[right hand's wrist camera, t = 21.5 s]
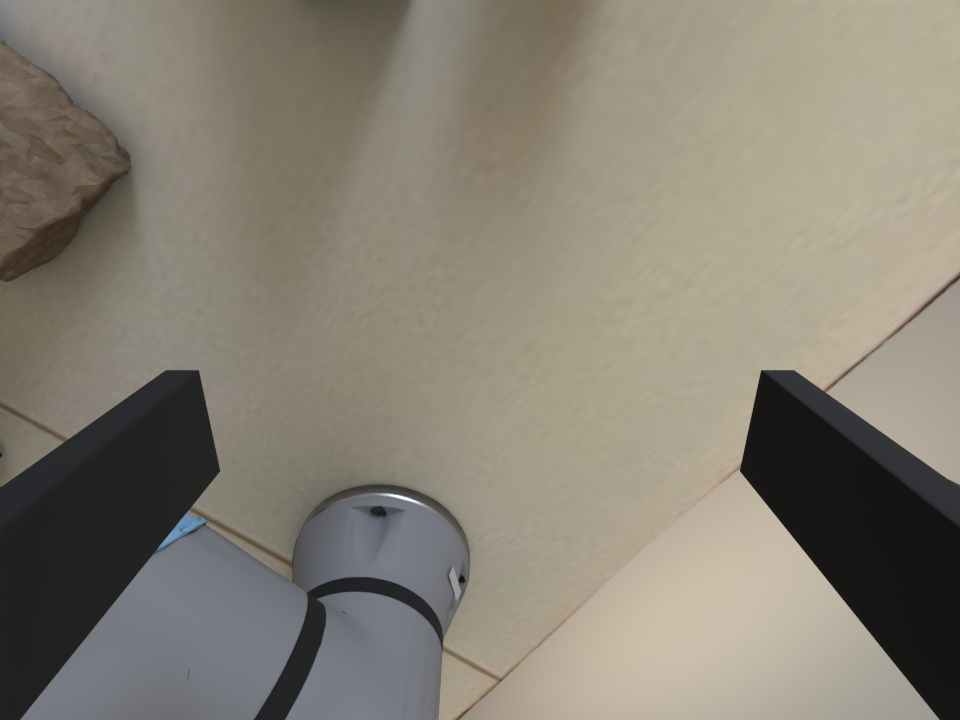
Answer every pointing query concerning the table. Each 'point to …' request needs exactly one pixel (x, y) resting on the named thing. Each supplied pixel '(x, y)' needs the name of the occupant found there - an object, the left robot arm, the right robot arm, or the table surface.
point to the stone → (46, 165)
